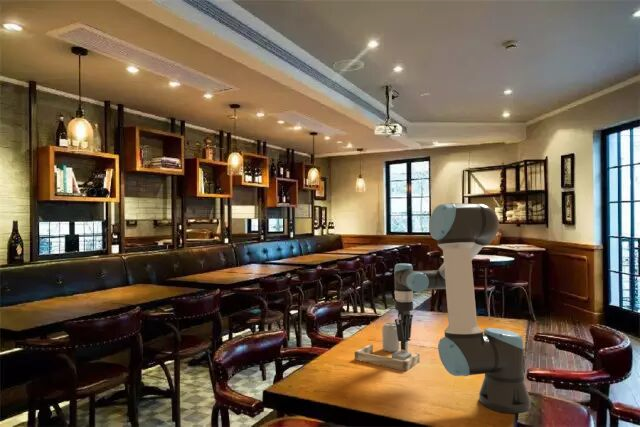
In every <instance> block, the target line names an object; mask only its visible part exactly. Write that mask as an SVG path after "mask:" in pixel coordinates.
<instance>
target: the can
mask: <svg viewBox="0 0 640 427" xmlns="http://www.w3.org/2000/svg"><path fill="white" fill-rule="evenodd" d="M381 331H382V349H383V351H385V352H386V351H388V353H395V352H397V351H400V341H398V336H397V328H396V323H395V322H385V323H383V326H382V330H381Z"/></svg>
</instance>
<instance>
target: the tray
mask: <svg viewBox="0 0 640 427" xmlns="http://www.w3.org/2000/svg"><path fill="white" fill-rule="evenodd" d="M373 347H374V345H373V344H367V345H366V346H364V347H361V348H360V349H358V350H355V351H354V360H355V359H356V360H361V361H365V362H364V363H366V362H369V363H368V364H370V363H374V364H373V365H375V364H378V365H377V366H379V365H382V366H381V367H384V366H386V367H385V368H389V367H390V368H389V369H393V368H394V370H398V371H403V372H408V371H409V370H410V369H412V368H413V367H414V366H416V365H417V364H419V363H420V353H417V352H415V353H414V354H411V357H409V358H408V359H406V360H399V359H394V358H392V357H387V356H383V355H380V354H379V355H377V354H374V353H372V352H374V350H373ZM370 353H372V354H370ZM356 360H355V361H356ZM361 361H360V362H361Z"/></svg>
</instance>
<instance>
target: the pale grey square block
mask: <svg viewBox="0 0 640 427" xmlns="http://www.w3.org/2000/svg"><path fill="white" fill-rule="evenodd" d="M411 356H412V353H411V352H408V353H407V352H401V350H398V351H397V352H393V353H392V354H391V358H394V359H399V360H406V359H408V358H409V357H411Z"/></svg>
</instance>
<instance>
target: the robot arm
mask: <svg viewBox="0 0 640 427" xmlns="http://www.w3.org/2000/svg"><path fill="white" fill-rule="evenodd" d="M428 223H429V224H428V229H429V234H430V236H431V238H432V239H434V240H436V241H437V247H438V248H440V249H441V250H442V256H443V263H442V264H441V266H440V267H439V268H437V269H436V270H433V269H432V270H414V267H413V264H411V263H405V262H404V263H396V264H395V265H394V272H393V273H394V292H393V294H394V300H395V301H394V310H396V311H397V319H396V318H395V319H394V323H396V328H397V336H398V341H399V342H400V351H401V352H407V353H409V342H411V335H412V323H413V317H414V315H413V314H411V311H413V310H414V301H413V300H414V292H418V293H422V292H424V291H427V290H445V291H446V292H445V293H446V304H447V305H446V307H447V317H448V326H446V328H445V329H444V336H443V337H441V338H440V339H439V341H438V345H437V349H438V350H437V351H438V355H439V356H438V357H439V359H440V361H441V364H442V366H443V367H444V369H445V370H446V371H447V372H448V374H450V375H451V376H454V377H461V376H462V377H468V376H473V375H474V376H475V375H483V374H484V378H483V381H482V383H481V387H480V389H479V393H478V394H479V398H478V399H479V400H478V401H479V402H480V404H482V405H483V406H484V407H486V408H487V409H490V410H493V411H496V412H499V413H506V414H523V413H526V412H529V411H530V410H531V408H532V407H531V406H532V405H531V403H532V402H531V398H530V395H529V392H528V388H527V386H526V383H525V363H524V362H525V355H524V354H525V352H524V351H525V346H524V339H523V337H522V335H520V334H519V333H517V332H515V331H511V330H507V329H501V328H496V327H495V328H494V327H486V328H484V330H483V329H482V328H480V327H479V326H478V320H477V309H476V308H477V307H476V299H475V298H476V297H475V296H476V295H475V294H476V293H475V284H474V276H473V275H474V274H473V273H474V272H473V264H472V263H473V262H472V261H473V260H474V259H475V257H476V256H477V255H478V254H479V252H480V251H481V250H482V248H484V247H486V246H489V245H490V244H491V243H492V242H493V240H494V239H496V237H497V234H498V232H499V229H500V221H499V217H498V215H497V213H496V212H495V211H494V210H493V209H492V208H491V207H490V206H488V205H487V204H483V203H459V202H458V203H456V202H455V203H452V202H451V203H443V204H439V205H437V206H436V207H435V208H433V211H432V213H431V215H430V218H429V222H428Z"/></svg>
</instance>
